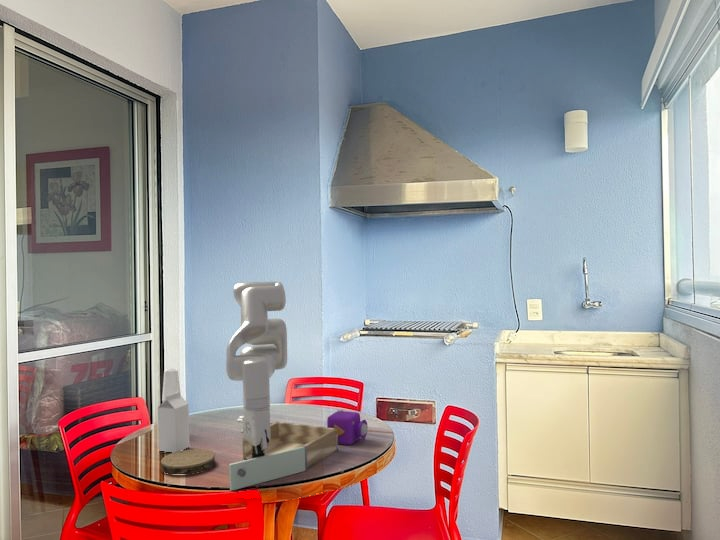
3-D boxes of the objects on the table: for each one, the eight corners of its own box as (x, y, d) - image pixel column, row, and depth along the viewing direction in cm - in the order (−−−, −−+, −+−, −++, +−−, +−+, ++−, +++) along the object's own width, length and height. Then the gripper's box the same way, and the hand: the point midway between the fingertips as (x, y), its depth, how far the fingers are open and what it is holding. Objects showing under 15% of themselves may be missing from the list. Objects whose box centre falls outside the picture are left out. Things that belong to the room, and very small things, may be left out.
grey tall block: (167, 438, 200) (165, 372, 200) (160, 434, 205) (158, 370, 205) (185, 434, 205) (183, 369, 205) (177, 430, 210) (175, 367, 210)
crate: (243, 459, 176) (242, 437, 176) (277, 441, 193) (277, 421, 193) (307, 469, 165) (306, 446, 165) (338, 450, 182) (337, 428, 182)
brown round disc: (163, 480, 161) (163, 470, 160) (159, 463, 175) (158, 454, 175) (219, 470, 167) (218, 460, 167) (210, 455, 182) (210, 446, 182)
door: (233, 492, 149) (232, 466, 149) (229, 489, 151) (228, 463, 151) (310, 471, 163) (309, 447, 163) (306, 469, 165) (305, 445, 165)
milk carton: (189, 447, 189) (188, 392, 189) (176, 454, 183) (174, 396, 183) (172, 445, 192) (170, 391, 192) (158, 452, 185) (157, 395, 185)
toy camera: (365, 447, 184) (364, 417, 184) (325, 445, 187) (324, 416, 187) (371, 437, 195) (370, 409, 195) (333, 436, 198) (332, 408, 198)
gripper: (235, 399, 163) (236, 461, 163) (254, 410, 150) (256, 477, 150) (258, 395, 167) (260, 456, 167) (279, 405, 154) (281, 471, 155)
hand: (258, 466), depth 159 cm, fingers closed
